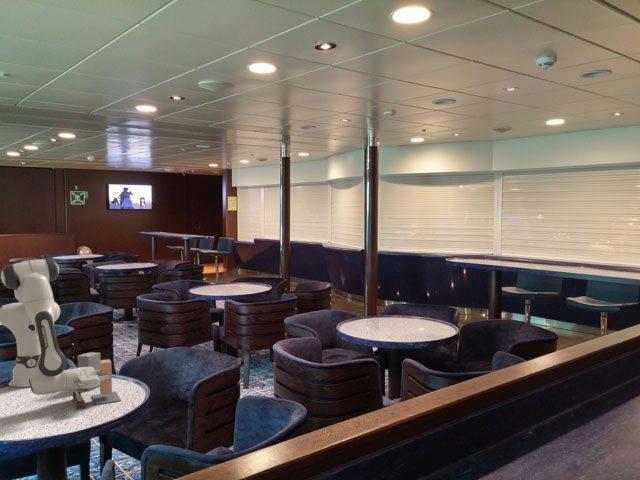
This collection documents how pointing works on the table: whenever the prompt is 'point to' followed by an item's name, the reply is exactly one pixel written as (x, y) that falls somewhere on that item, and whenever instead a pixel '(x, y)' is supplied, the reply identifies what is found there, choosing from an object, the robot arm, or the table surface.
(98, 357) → the skincare box
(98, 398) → the mat
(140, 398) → the table surface
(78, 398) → the bar
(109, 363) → the orange rectangular block
